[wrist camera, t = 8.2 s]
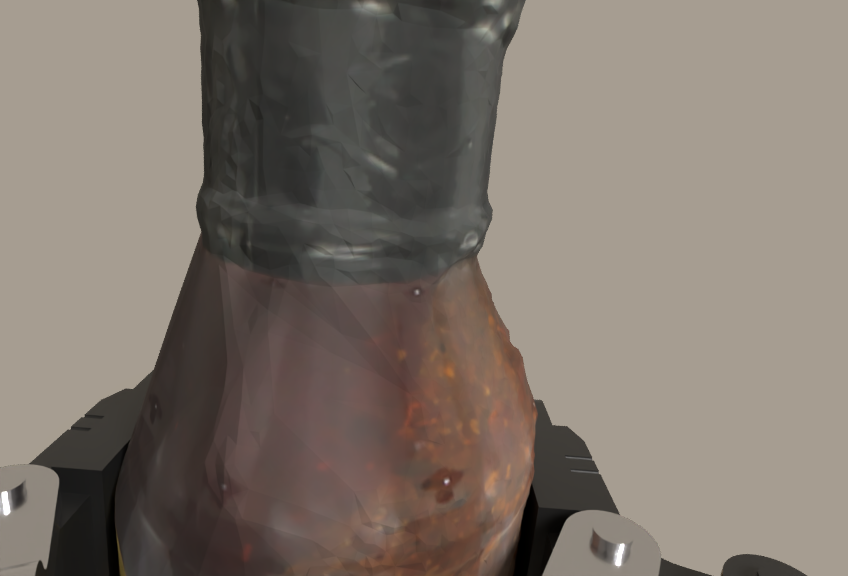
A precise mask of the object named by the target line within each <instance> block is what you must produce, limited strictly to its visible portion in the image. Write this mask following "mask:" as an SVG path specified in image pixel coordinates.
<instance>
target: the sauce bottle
mask: <svg viewBox="0 0 848 576" xmlns="http://www.w3.org/2000/svg"><path fill="white" fill-rule="evenodd" d="M197 1H198V6H199V24H200V32H201V46H200V50H201V65H202V67H201V69H202V70H201V85H202V126H203V135H204V144H203V146H204V147H203V148H204V179H203V184H202V186H201V189H200V191H199V194H198V198H197V204H196V211H197V218H198V221H199V225H200V228H201V234H200V237H199V240H198V243H197V246H196V249H195V251H194V254H193V257H192V260H191V263H190V266H189V268H188V271H187V274H186V277H185V280H184V283H183V286H182V288H181V291H180V294H179V297H178V300H177V303H176V306H175V309H174V311H173V314H172V317H171V320H170V323H169V326H168V329H167V332H166V335H165V338H164V341H163V344H162V347H161V350H160V353H159V356H158V359H157V362H156V365H155V368H154V371H153V374H152V377H151V380H150V383H149V386H148V389H147V392H146V395H145V398H144V400H143V403H142V406H141V409H140V412H139V415H138V418H137V421H136V424H135V427H134V430H133V433H132V436H131V439H130V442H129V445H128V448H127V451H126V454H125V457H124V460H123V463H122V466H121V469H120V473H119V477H118V481H117V486H116V493H115V527H116V536H117V545H118V556H119V573H120V576H514V575H515V560H516V557H517V552H518V544H519V541H520V537H521V533H522V532H521V522H522V518H523V512H524V508H525V506H526V501H527V498H528V496H529V490H530V486H531V483H532V481H533V477H534V472H535V471H534V465H533V463H534V457H535V453H534V441H535V424H536V420H537V416H538V413H537V410H536V406H535V402H534V399H533V396H532V393H531V390H530V387H529V384H528V382H527V378H526V373H525V369H524V363H523V357H522V356H521V354H520V352H519V350H518V349H517V348H516V347H514V346H513V345H512V344H511V342H510V336H509V330H508V329H507V328H506V326H505V325H504V323H503V321H502V319H501V318H500V316H499V314H498V312H497V310H496V308H495V306H494V303H493V301H492V295H491V292H490V290H489V288H488V285H487V283H486V281H485V279H484V277H483V275H482V273H481V269H480V266H479V263H478V260H477V254H478V253H479V251H480V249H481V248H482V246H483V242H484V239H485V235H486V232H487V230H488V227H489V225H490V222H491V220H492V211H493V210H492V207H491V205H490V203H489V201H488V194H487V189H488V181H489V174H490V162H491V152H492V145H493V138H494V131H495V124H496V117H497V116H496V115H497V114H496V113H497V105H498V100H499V94H500V84H501V76H502V66H503V59H504V56H505V53H506V50H507V47H508V46H509V44H510V42H511V40H512V38H513V36H514V34H515V32H516V30H517V27H518V23H519V19H520V15H521V12H522V9H523V6H524V3H525V0H197Z"/></svg>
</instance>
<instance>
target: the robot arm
mask: <svg viewBox="0 0 848 576" xmlns="http://www.w3.org/2000/svg"><path fill="white" fill-rule="evenodd" d="M153 371H154V370H153ZM153 371H152V372H151V373H150V374H149V375H148V376H146V378H145V379H143V380H142V381H141V382H140V383H139V384H138V385H137V386H136V387H135V388H134V389H124V390H122V391H120V392H117V393H115V394H113V395H111V396H109V397H107V398H105V399H102V400H101V401H100V402H98V403H97V404H96V405H95V406H94V407H93V408H92V409H90V410H89V411H88V412H87V413H86V414H85V417H84V418H80V419H79V420H78V421H77V422H76V423H75V424H74V425H72V426H71V430H67V431H66V432H65V433H63V434H62V435H61V436H60V437H59V438H58V439H57V440H56V441H54V442H53V443H52V444H51V445H50V446H49V447H48V448H47V449H45V450H44V451H43V452H42V453H41V454H40V455H39V456H37V457H36V458H35V459H34V460H33V461H32V462H31V463H30V464H23V465H11V466H5V467H0V576H120V573H119V556H118V545H117V536H116V527H115V493H116V486H117V481H118V477H119V473H120V469H121V466H122V463H123V460H124V457H125V454H126V451H127V448H128V445H129V442H130V439H131V436H132V433H133V430H134V427H135V424H136V421H137V418H138V415H139V412H140V409H141V406H142V403H143V400H144V398H145V395H146V392H147V389H148V386H149V383H150V380H151V377H152V374H153ZM534 402H535V406H536V410H537V413H538V416H537V420H536V424H535V441H534V453H535V457H534V463H533V465H534V471H535V472H534V477H533V481H532V483H531V486H530V490H529V496H528V498H527V501H526V506H525V508H524V512H523V518H522V522H521V532H522V533H521V537H520V541H519V544H518V552H517V557H516V560H515V575H514V576H711V575H708V574H705V573H702V572H698V571H695V570H692V569H688V568H685V567H682V566H679V565H676V564H673V563H671V562H669V561H666V560H664V559H662V558H661V552H660V548H659V546H658V544H657V542H656V541H655V539H654V538H653V537H652V536H651V535H650V534H649V533H648V532H647V531H646V530H645V529H644V528H642V527H641V526H640V525H638V524H636V523H635V522H633V521H632V520H630V519H628V518H625V517H623V516H621V515H620V514H619V512H618V510H617V508H616V506H615V504H614V502H613V500H612V497H611V495H610V493H609V491H608V489H607V487H606V485H605V483H604V481H603V479H602V477H601V475H600V474H599V473H598V469H597V467H596V465H595V462H594V461H592V456H591V454H590V452H589V450H588V448H587V446H586V444H585V442H584V441H583V440H582V439H581V438H580V437H579V436H577V435H576V434H575V433H574V432H573V431H572V430H571V429H569V428H568V427H567V426H555V425H552V423H551V421H550V418H549V416H548V413H547V411H546V408H545V406H544V404H543V401H542V400H534ZM721 576H807V575H805V574H804V573H802V572H800V571H798V570H797V569H795V568H793V567H791V566H789V565H787V564H785V563H782V562H780V561H777V560H774V559H771V558H768V557H764V556H759V555H750V554H743V555H736V556H733V557H731V558H730V559H728V560H727V561H726V562H725V564H724V566H723V569H722V573H721Z"/></svg>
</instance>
